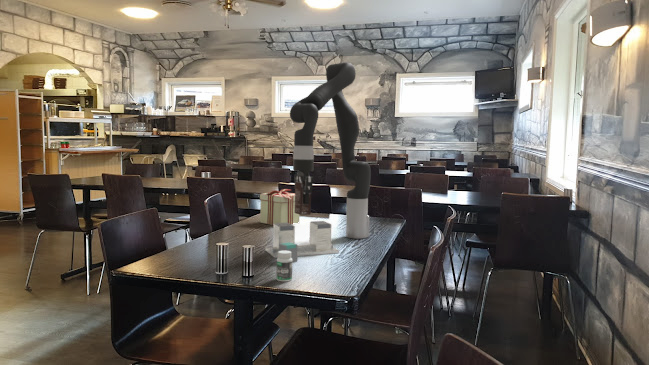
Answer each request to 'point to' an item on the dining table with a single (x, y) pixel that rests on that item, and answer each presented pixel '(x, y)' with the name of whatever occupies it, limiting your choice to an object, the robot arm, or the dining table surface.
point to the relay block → (289, 249)
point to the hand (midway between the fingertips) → (302, 203)
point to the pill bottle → (284, 266)
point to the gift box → (278, 207)
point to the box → (301, 200)
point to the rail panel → (318, 245)
